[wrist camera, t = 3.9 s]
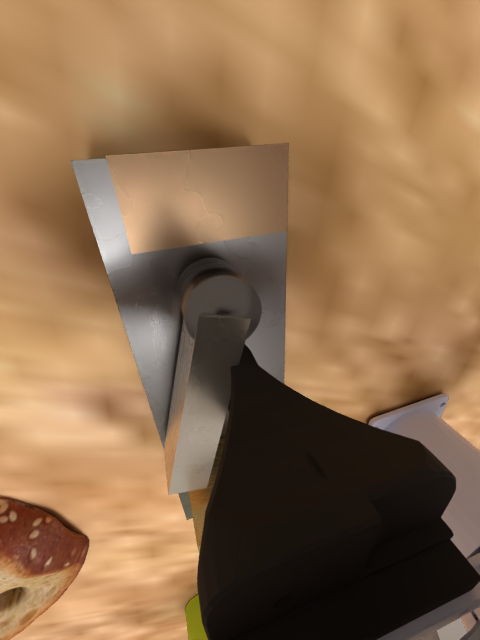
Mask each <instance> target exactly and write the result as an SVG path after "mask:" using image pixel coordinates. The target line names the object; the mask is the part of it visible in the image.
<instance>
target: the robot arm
mask: <svg viewBox="0 0 480 640" xmlns="http://www.w3.org/2000/svg"><path fill="white" fill-rule="evenodd" d="M448 399H449V396H448V395H446V394H445V393H443V394H439V395H437V396H434V397H431V398H428V399H425V400H422V401H419V402H416V403H414V404H411V405H408V406H405V407H402V408H399V409H396V410H394V411H391V412H388V413H385V414H382V415H379V416H376V417H374V418H372V419H371V420H370V421H369V424H365V423H362V422H360V421H357V420H354V419H352V418H349V417H347V416H345V415H342V414H340V413H338V412H335V411H333V410H331V409H329V408H327V407H325V406H322V405H320V404H318V403H316V402H314V401H312V400H310V399H309V398H307V397H305V396H303V395H301V394H300V393H298V392H296V391H294V390H293V389H291V388H290V387H288V386H286V385H285V384H283V383H282V382H280V381H279V380H278V379H276V378H275V377H273V376H272V375H271V374H269V373H268V372H267V371H265V370H264V369H263V368H261V367H260V366H259V365H258V364H257V362H256V360H255V358H254V356H253V354H252V352H251V350H250V349H249V348H248V347H247V346H246V345H245V344H244V348H243V351H242V355H241V359H240V363H239V365H236V366H232V367H231V397H230V401H229V405H228V411H229V418H228V425H227V431H226V437H225V442H224V447H223V451H222V455H221V459H220V463H219V468H218V472H217V475H216V479H215V482H214V486H213V489H212V492H211V495H210V498H209V502H208V505H207V508H206V511H205V519H204V526H203V533H202V539H201V546H200V554H199V562H198V575H197V584H198V596H199V604H200V612H201V619H202V624H203V627H204V630H205V632H206V635H207V638H208V640H420V639H422V638H423V637H425V636H427V635H429V634H431V633H433V632H435V631H436V630H438V629H440V628H442V627H444V626H446V625H447V624H449V623H451V622H453V621H455V620H457V619H459V618H460V617H461V619H462V622H463V624H464V627H465V629H466V631H467V634H466V635H464V637H462V638H461V639H460V640H480V451H479V450H478V449H477V448H476V447H475V446H473V445H472V444H471V443H470V442H469V441H467V440H466V439H465V438H464V437H463V436H461V435H460V434H459V433H458V432H457V431H455V430H454V429H453V428H452V427H451V426H450V425H448V424H447V423H446V422H445V421H444V420H442V419H441V415H442V413H443V411H444V408H445V406H446V404H447V402H448Z"/></svg>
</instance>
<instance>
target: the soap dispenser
mask: <svg viewBox="0 0 480 640" xmlns="http://www.w3.org/2000/svg"><path fill="white" fill-rule="evenodd" d="M185 612H186V621H187V630H188V639H189V640H208V638H207V635H206V632H205V630H204V627H203V624H202V619H201V612H200V604H199V596H198V595H196V596H195V597H194V598H193V599H191V600H190V601H189V603H188V604H187V606H186V608H185Z"/></svg>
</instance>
